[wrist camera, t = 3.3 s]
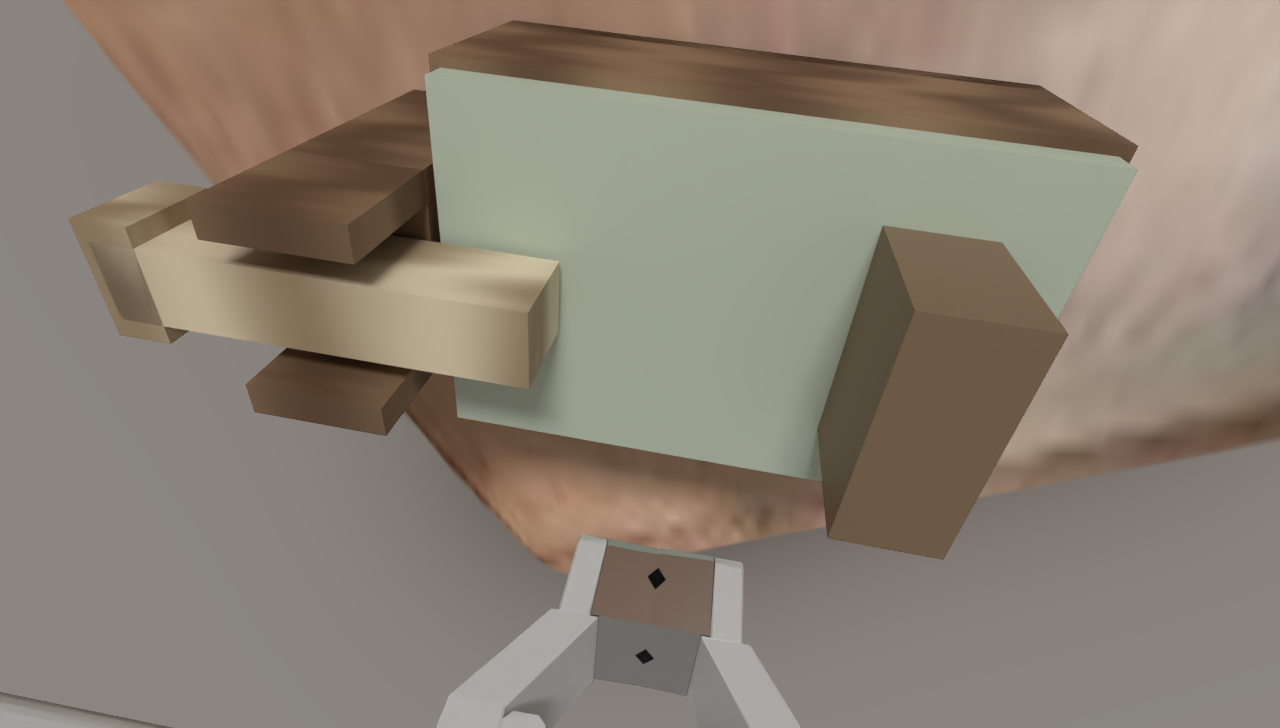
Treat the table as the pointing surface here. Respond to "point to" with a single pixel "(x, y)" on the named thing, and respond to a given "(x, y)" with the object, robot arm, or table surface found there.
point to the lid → (776, 285)
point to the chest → (399, 130)
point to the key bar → (322, 293)
